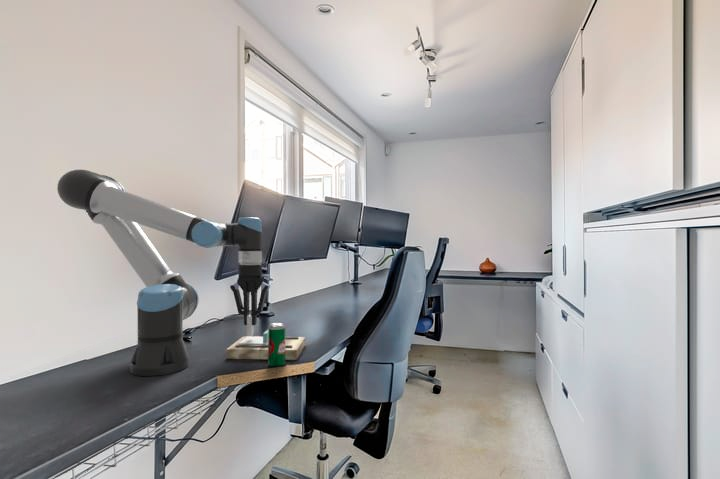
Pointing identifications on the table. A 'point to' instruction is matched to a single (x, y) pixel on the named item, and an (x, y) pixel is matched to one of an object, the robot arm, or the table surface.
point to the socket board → (265, 349)
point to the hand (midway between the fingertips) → (250, 334)
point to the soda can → (276, 344)
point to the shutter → (255, 340)
